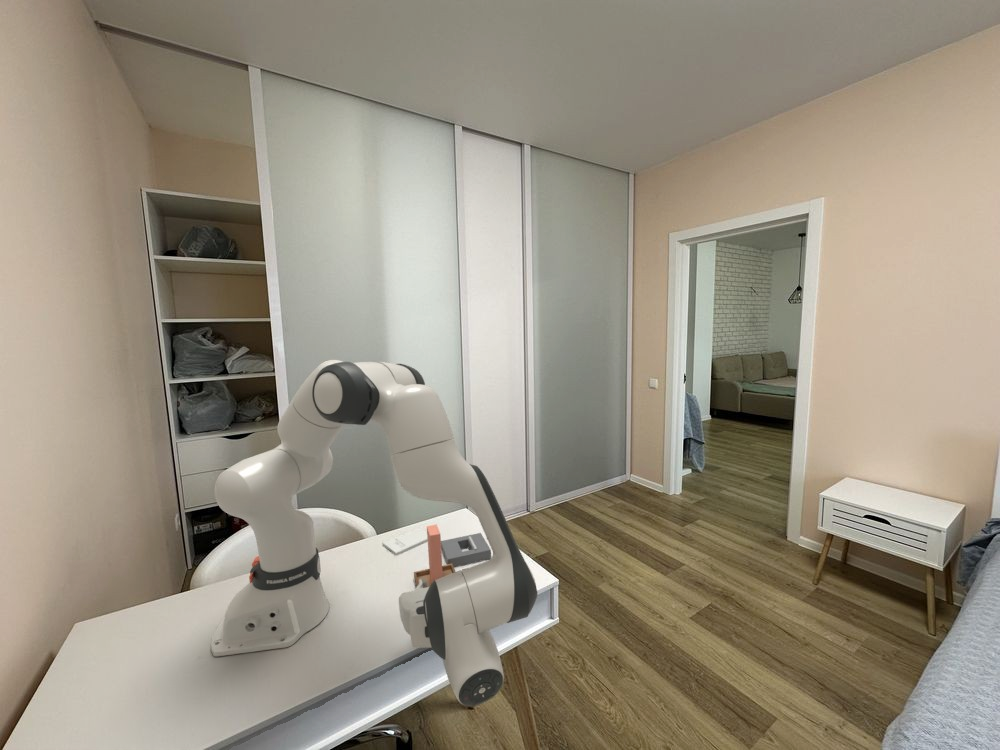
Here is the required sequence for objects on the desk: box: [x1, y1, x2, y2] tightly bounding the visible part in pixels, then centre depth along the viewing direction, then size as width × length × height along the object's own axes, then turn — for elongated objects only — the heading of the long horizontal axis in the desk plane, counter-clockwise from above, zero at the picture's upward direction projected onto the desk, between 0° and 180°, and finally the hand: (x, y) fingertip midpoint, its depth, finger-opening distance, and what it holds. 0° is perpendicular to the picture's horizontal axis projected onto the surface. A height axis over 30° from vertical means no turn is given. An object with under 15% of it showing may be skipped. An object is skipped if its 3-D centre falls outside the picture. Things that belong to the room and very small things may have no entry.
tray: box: [413, 564, 456, 588], centre depth 99 cm, size 10×10×2 cm
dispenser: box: [441, 532, 492, 568], centre depth 113 cm, size 12×10×3 cm
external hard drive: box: [382, 527, 428, 557], centre depth 121 cm, size 2×8×12 cm
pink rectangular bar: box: [426, 524, 443, 584], centre depth 98 cm, size 2×5×14 cm, turn 19°
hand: (444, 576), depth 87 cm, fingers open, 8 cm apart
